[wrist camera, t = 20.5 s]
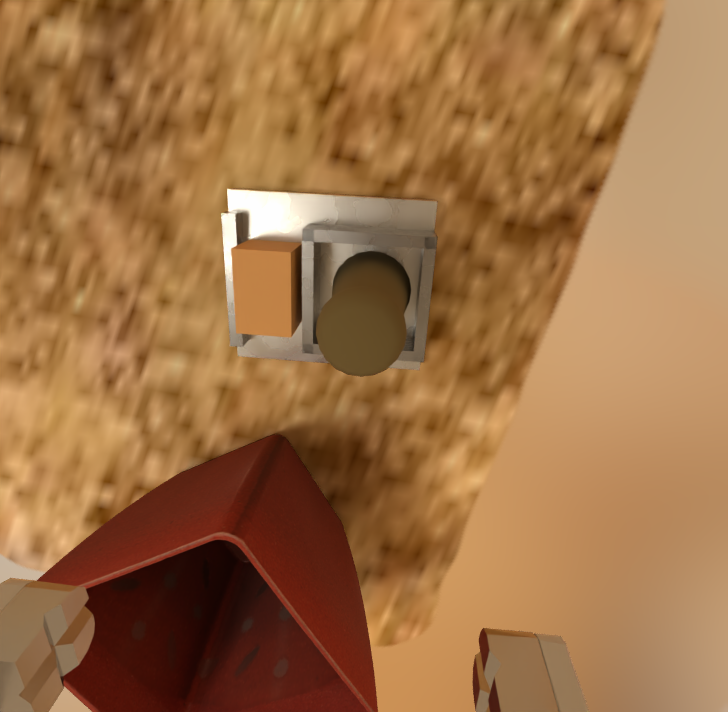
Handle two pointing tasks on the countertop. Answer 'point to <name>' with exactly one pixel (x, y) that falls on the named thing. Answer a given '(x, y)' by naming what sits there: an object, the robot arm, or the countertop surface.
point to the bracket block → (267, 287)
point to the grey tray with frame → (333, 257)
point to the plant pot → (224, 596)
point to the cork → (365, 314)
